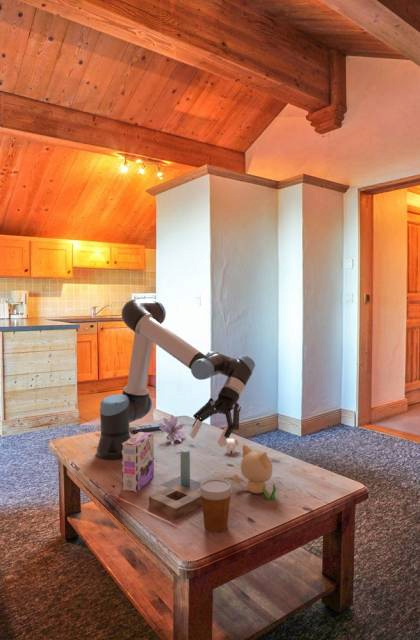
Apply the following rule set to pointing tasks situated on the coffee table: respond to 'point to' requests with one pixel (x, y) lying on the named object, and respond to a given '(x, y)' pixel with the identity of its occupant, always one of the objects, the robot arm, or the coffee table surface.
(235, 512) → the coffee table surface
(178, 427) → the water lily
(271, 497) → the kitten
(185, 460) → the peg
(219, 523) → the disposable coffee cup
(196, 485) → the mat
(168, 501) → the hole block
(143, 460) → the candy box
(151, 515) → the coffee table surface
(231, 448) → the elephant figurine
